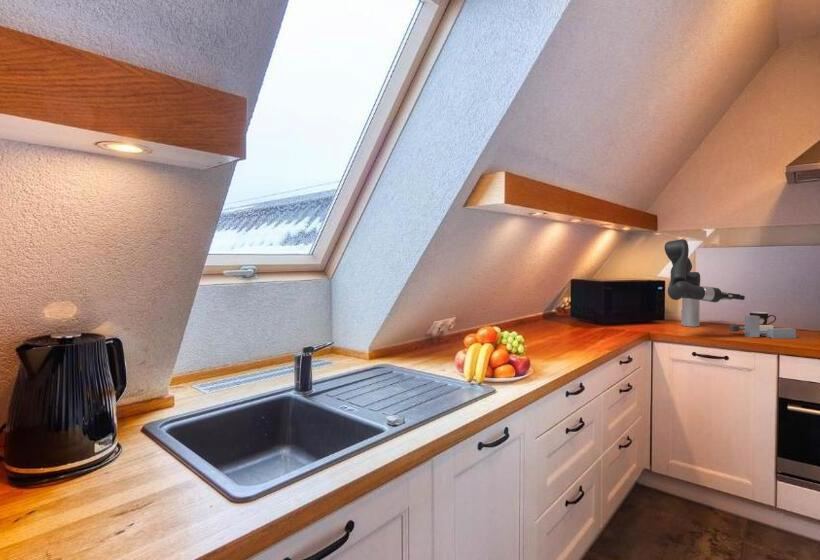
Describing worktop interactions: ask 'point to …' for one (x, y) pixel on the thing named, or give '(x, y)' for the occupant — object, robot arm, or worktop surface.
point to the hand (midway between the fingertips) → (737, 297)
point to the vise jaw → (737, 328)
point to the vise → (779, 333)
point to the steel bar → (752, 326)
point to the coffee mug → (762, 317)
